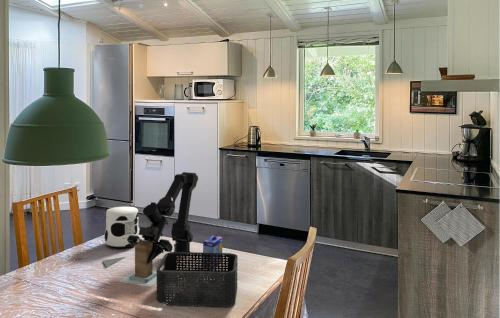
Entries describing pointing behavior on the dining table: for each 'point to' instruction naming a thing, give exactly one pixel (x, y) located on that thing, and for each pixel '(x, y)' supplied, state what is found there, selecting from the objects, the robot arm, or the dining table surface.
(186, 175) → the robot arm
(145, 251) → the walnut block
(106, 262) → the slate coaster
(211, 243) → the ink cartridge box
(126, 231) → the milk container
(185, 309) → the dining table surface
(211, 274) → the storage bin
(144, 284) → the pocket board
